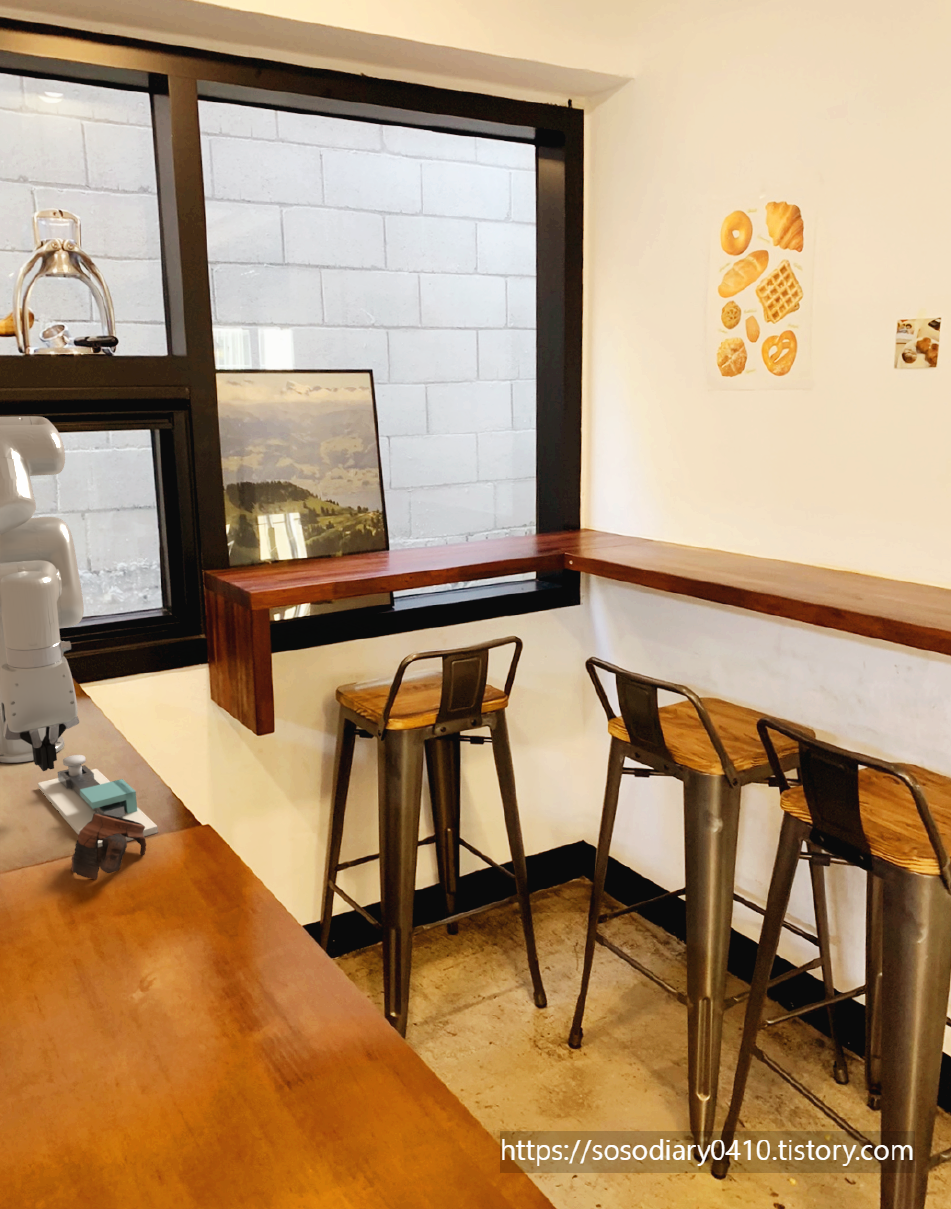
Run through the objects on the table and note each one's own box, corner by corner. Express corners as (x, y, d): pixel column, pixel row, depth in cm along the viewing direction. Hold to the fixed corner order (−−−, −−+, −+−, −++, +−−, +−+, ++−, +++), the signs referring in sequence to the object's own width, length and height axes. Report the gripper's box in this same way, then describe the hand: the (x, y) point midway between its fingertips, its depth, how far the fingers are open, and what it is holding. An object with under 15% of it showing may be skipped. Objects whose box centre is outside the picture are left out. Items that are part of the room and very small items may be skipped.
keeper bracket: (81, 809, 147) (79, 789, 146) (124, 798, 151) (122, 778, 150) (94, 823, 142) (92, 802, 141) (137, 811, 146) (135, 791, 145)
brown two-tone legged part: (59, 865, 133) (80, 807, 135) (126, 878, 137) (144, 822, 139) (76, 880, 123) (98, 817, 125) (147, 894, 127) (167, 832, 129)
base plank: (38, 788, 157) (35, 758, 156) (97, 773, 163) (94, 745, 161) (92, 851, 136) (89, 817, 134) (158, 832, 141) (155, 799, 140)
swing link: (58, 780, 157) (57, 771, 156) (85, 773, 159) (84, 765, 159) (99, 822, 142) (99, 813, 141) (129, 814, 144) (128, 805, 144)
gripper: (78, 639, 149) (87, 747, 154) (-27, 657, 140) (-13, 770, 145) (93, 652, 144) (103, 763, 148) (-15, 670, 134) (-1, 788, 139)
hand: (46, 766), depth 147 cm, fingers closed
